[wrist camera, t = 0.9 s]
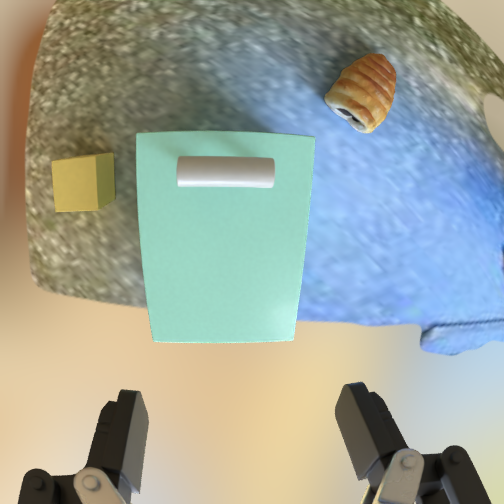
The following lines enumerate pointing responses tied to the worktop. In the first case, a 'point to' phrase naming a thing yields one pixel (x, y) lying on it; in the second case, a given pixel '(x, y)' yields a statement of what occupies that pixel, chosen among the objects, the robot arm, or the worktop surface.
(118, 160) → the worktop surface
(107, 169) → the block
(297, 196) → the lid
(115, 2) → the worktop surface
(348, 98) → the pastry
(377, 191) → the worktop surface
